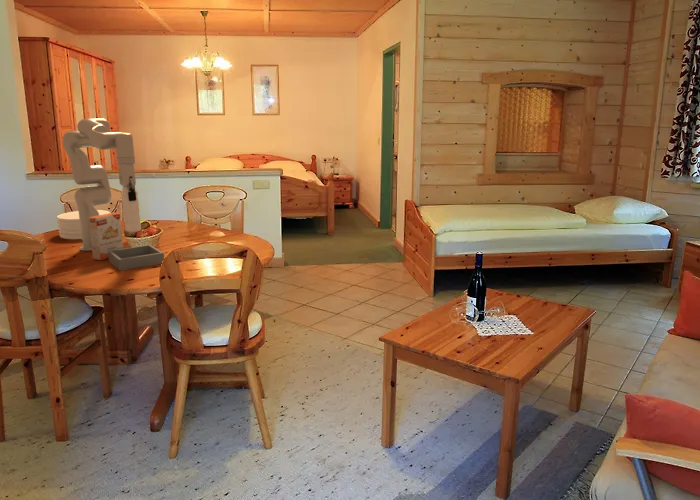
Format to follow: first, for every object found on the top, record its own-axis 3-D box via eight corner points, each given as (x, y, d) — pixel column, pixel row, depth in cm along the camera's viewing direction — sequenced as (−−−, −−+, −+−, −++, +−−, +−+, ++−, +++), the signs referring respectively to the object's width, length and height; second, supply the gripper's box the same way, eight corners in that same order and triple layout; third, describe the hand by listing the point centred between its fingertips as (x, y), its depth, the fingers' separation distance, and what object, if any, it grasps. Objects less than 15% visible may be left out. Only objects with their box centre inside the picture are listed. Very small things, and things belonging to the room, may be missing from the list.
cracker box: (101, 261, 273) (96, 218, 268) (92, 259, 276) (87, 217, 271) (124, 254, 285) (120, 213, 280) (116, 252, 288) (111, 212, 283)
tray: (109, 261, 273) (107, 250, 272) (151, 254, 285) (150, 244, 283) (120, 270, 258) (119, 259, 256) (164, 263, 269) (163, 252, 268)
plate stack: (49, 235, 328) (46, 215, 325) (94, 226, 350) (92, 208, 347) (77, 241, 313) (75, 221, 310) (122, 232, 335) (120, 212, 332)
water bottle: (127, 229, 270) (122, 176, 264) (143, 228, 271) (137, 176, 265) (123, 232, 263) (117, 178, 257) (139, 232, 264) (133, 178, 258)
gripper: (112, 159, 264) (116, 198, 268) (122, 162, 250) (127, 203, 255) (129, 158, 268) (132, 196, 272) (140, 161, 254) (144, 201, 259)
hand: (130, 199), depth 263 cm, fingers closed on water bottle, 7 cm apart
